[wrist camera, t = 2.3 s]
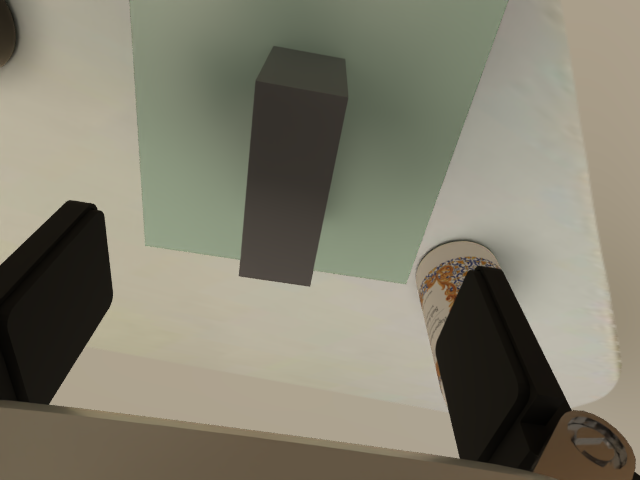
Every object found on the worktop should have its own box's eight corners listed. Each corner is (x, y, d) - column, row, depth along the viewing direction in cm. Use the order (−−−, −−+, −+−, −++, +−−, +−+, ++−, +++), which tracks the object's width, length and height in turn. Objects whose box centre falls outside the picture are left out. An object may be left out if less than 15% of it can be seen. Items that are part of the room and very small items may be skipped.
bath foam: (432, 230, 37) (512, 474, 20) (511, 247, 38) (649, 496, 21) (403, 292, 41) (450, 540, 24) (475, 307, 41) (568, 557, 25)
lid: (149, -77, 16) (49, -80, 10) (489, -9, 17) (566, 21, 11) (160, 219, 23) (105, 312, 18) (400, 256, 24) (420, 355, 18)
